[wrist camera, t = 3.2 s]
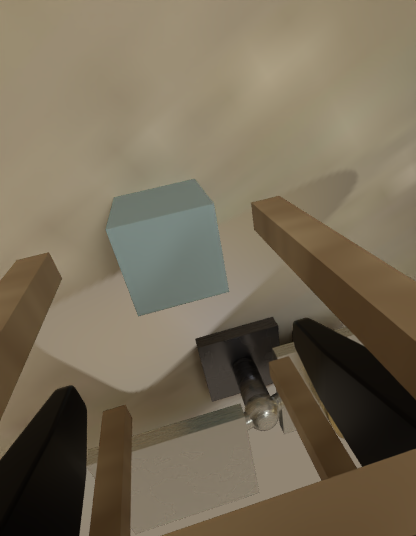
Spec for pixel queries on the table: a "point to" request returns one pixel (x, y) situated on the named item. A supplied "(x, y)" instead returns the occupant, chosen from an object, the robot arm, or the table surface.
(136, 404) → the table surface
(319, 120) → the table surface
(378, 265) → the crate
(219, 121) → the table surface
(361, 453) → the robot arm
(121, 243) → the block
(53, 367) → the table surface
